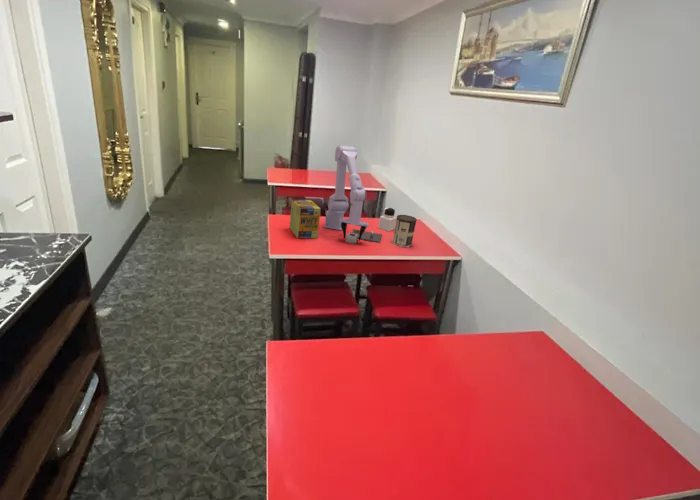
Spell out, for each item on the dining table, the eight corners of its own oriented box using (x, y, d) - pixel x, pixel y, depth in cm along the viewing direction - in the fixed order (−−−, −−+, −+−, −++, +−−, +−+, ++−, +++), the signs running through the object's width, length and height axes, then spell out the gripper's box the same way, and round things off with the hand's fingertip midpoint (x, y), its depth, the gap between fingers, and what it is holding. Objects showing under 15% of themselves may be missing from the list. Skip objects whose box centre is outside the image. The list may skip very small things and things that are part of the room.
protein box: (297, 238, 186) (300, 208, 180) (289, 228, 199) (291, 199, 193) (317, 238, 191) (321, 208, 185) (308, 227, 203) (311, 199, 198)
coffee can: (408, 240, 206) (413, 215, 200) (414, 247, 196) (419, 221, 191) (389, 239, 204) (394, 213, 198) (395, 246, 194) (400, 220, 189)
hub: (345, 242, 191) (346, 235, 189) (347, 238, 195) (348, 232, 194) (355, 244, 190) (356, 237, 189) (357, 240, 195) (358, 234, 193)
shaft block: (349, 237, 198) (350, 231, 196) (353, 230, 209) (354, 224, 207) (379, 243, 196) (381, 236, 194) (382, 235, 207) (383, 229, 205)
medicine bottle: (394, 229, 221) (398, 209, 216) (388, 231, 215) (392, 211, 211) (383, 225, 224) (387, 206, 220) (377, 228, 218) (381, 208, 214)
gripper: (339, 212, 184) (336, 238, 189) (369, 217, 183) (364, 244, 188) (342, 208, 191) (339, 234, 196) (370, 213, 189) (366, 239, 194)
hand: (351, 238), depth 192 cm, fingers open, 7 cm apart
